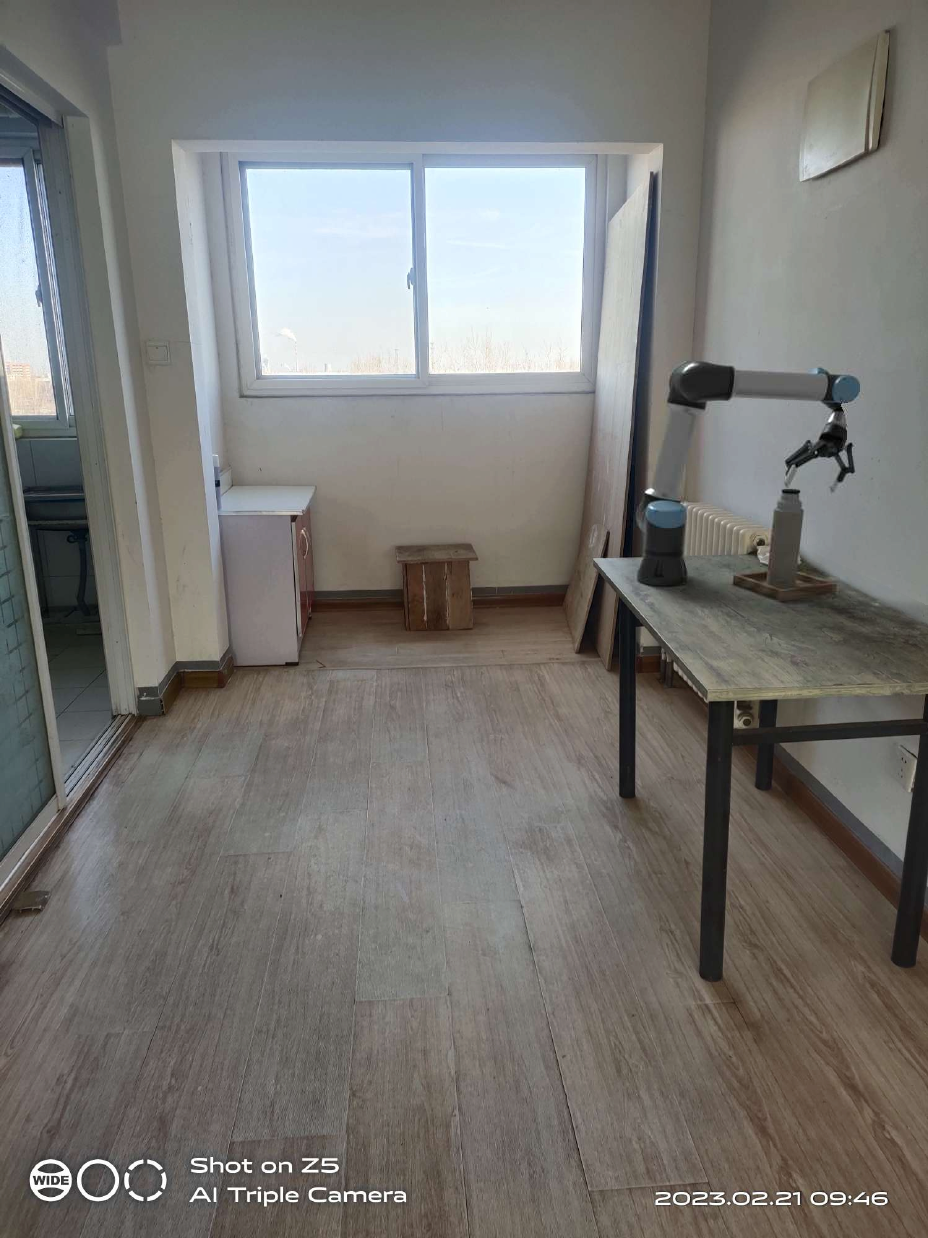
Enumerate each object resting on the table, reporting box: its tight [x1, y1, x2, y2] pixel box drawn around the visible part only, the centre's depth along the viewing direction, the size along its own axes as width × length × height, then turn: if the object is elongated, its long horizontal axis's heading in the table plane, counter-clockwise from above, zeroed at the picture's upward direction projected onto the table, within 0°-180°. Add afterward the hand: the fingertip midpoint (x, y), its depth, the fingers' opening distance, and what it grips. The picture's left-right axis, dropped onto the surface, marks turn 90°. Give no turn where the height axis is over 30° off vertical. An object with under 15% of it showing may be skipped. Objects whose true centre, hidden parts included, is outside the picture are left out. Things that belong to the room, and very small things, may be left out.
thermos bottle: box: [766, 488, 805, 589], centre depth 240 cm, size 8×8×28 cm
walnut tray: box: [732, 570, 838, 603], centre depth 243 cm, size 20×20×3 cm
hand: (808, 487), depth 243 cm, fingers open, 13 cm apart
